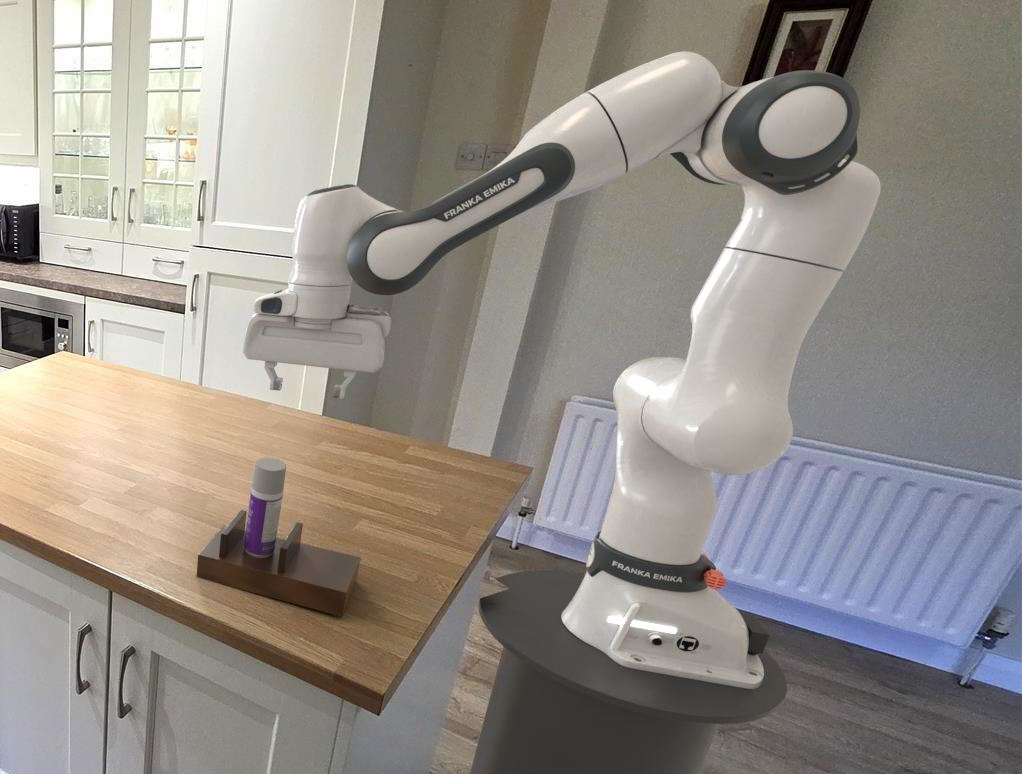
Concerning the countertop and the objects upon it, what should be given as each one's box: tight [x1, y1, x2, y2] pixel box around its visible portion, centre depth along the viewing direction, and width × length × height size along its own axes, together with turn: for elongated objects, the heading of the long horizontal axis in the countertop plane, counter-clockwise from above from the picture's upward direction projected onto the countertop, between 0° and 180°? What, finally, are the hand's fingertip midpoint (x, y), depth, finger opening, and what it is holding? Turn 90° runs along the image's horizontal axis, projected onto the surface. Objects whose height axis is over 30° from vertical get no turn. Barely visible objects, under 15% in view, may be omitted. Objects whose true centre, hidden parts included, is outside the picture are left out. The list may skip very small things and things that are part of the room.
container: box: [244, 457, 287, 558], centre depth 112 cm, size 5×5×15 cm
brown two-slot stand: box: [195, 509, 362, 617], centre depth 114 cm, size 22×12×8 cm, turn 60°
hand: (306, 393), depth 113 cm, fingers open, 8 cm apart
